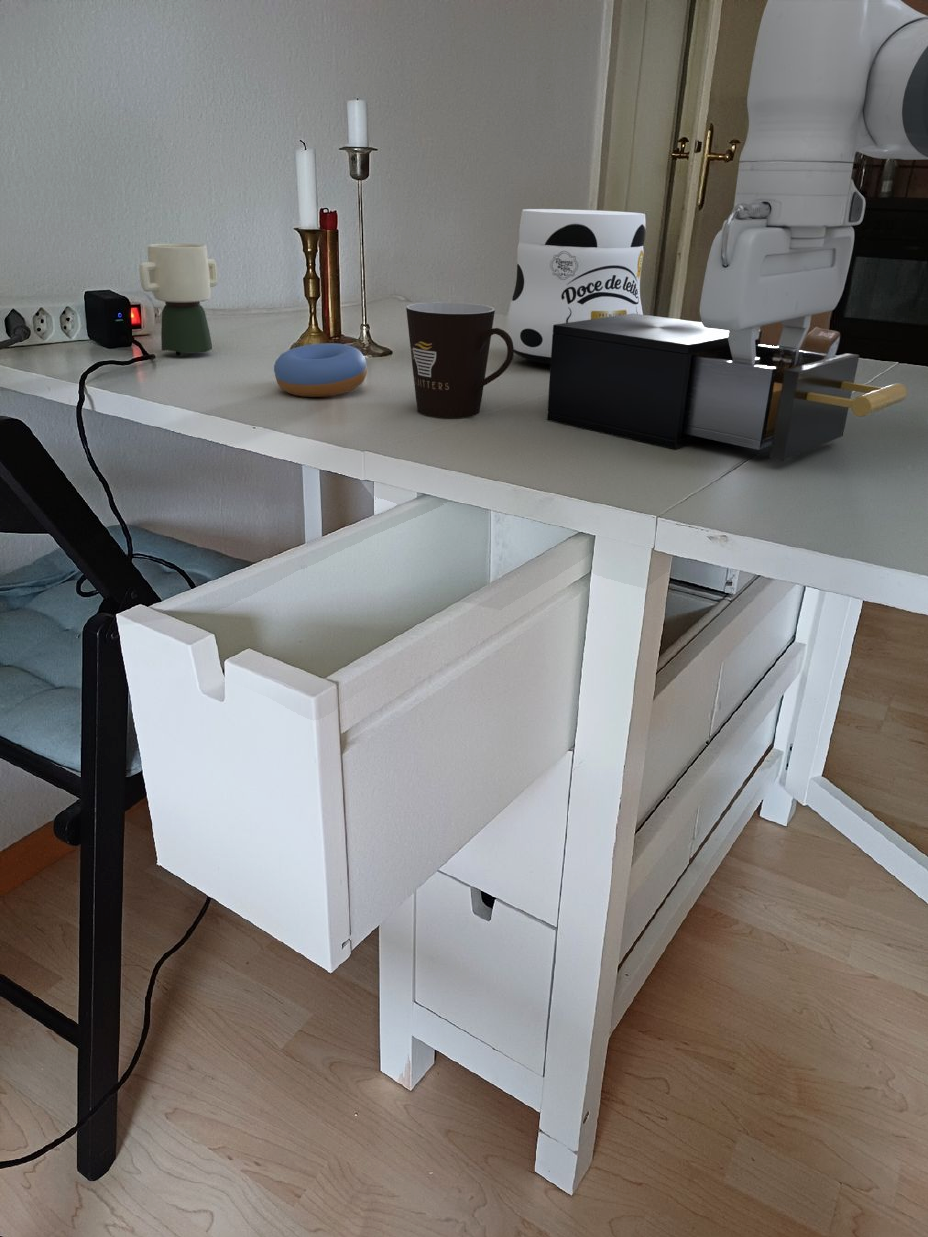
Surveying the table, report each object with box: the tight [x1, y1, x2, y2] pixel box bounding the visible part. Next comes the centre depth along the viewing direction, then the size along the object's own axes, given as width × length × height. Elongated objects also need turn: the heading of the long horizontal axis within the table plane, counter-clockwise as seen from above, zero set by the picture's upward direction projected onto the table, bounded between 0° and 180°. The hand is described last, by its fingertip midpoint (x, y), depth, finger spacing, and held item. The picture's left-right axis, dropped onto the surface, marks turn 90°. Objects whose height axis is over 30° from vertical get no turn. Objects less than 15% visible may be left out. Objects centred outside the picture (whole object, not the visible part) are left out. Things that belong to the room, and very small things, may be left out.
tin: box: [799, 326, 841, 358], centre depth 95 cm, size 15×3×8 cm, turn 154°
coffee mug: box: [405, 301, 515, 419], centre depth 91 cm, size 12×9×10 cm
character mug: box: [138, 242, 219, 357], centre depth 116 cm, size 11×7×13 cm, turn 140°
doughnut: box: [273, 342, 368, 398], centre depth 100 cm, size 10×10×5 cm
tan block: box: [766, 383, 782, 431], centre depth 83 cm, size 4×4×4 cm
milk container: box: [506, 208, 647, 366], centre depth 117 cm, size 17×17×18 cm
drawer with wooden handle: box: [682, 344, 908, 462], centre depth 82 cm, size 19×12×7 cm, turn 47°
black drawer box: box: [546, 313, 763, 450], centre depth 90 cm, size 15×14×9 cm
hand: (764, 373), depth 82 cm, fingers open, 6 cm apart
